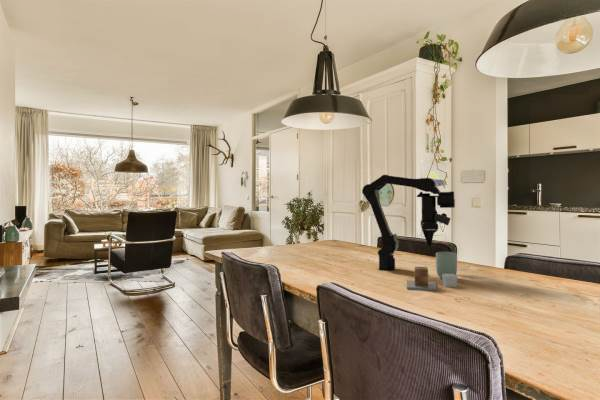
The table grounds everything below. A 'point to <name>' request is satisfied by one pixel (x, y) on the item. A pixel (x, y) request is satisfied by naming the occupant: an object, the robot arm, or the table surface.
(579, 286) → the table surface
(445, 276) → the painted cube
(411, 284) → the coaster
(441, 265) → the cup
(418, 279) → the walnut block
